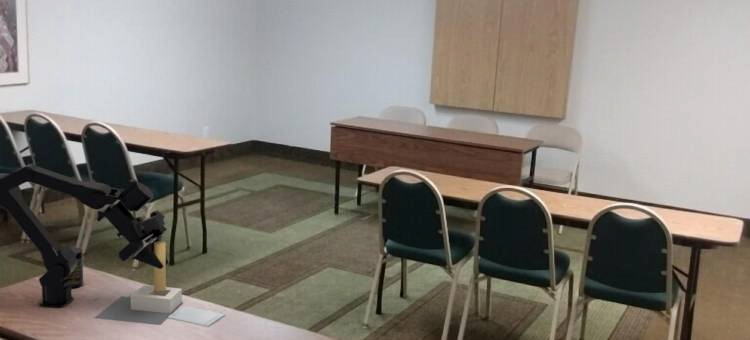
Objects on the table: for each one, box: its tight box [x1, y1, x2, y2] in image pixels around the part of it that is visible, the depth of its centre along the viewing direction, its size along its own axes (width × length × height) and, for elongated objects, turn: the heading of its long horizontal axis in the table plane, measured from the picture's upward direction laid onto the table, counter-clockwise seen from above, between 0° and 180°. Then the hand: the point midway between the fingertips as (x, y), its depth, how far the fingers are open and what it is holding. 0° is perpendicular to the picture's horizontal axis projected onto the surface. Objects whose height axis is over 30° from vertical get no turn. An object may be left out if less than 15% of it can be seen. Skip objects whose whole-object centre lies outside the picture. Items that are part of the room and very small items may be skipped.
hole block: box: [130, 284, 183, 313], centre depth 200 cm, size 11×8×4 cm
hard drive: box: [167, 306, 226, 328], centre depth 195 cm, size 2×8×12 cm
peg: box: [153, 241, 167, 291], centre depth 198 cm, size 3×3×13 cm
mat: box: [94, 295, 184, 326], centre depth 197 cm, size 18×16×1 cm
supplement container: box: [66, 246, 85, 290], centre depth 212 cm, size 7×7×10 cm
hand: (164, 265), depth 198 cm, fingers closed on peg, 3 cm apart
